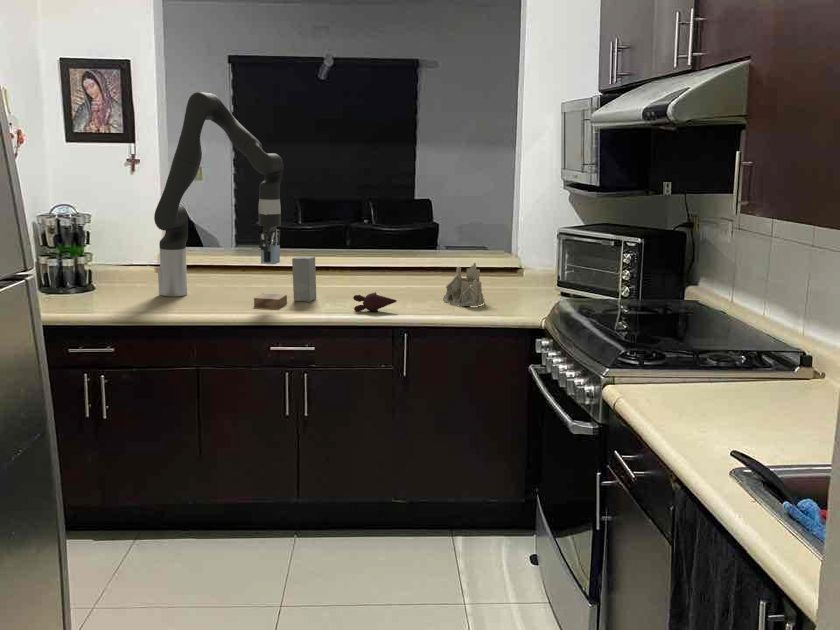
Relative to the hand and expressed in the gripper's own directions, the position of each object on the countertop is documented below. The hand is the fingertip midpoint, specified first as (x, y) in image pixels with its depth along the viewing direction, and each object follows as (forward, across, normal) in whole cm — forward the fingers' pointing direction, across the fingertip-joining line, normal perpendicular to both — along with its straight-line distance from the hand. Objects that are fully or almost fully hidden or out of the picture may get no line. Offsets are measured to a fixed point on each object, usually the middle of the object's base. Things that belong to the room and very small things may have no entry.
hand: (270, 260), depth 304 cm
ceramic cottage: (+16, -27, +64) cm, 72 cm away
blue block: (+1, 0, 0) cm, 1 cm away
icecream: (+16, -2, +38) cm, 41 cm away
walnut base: (+16, 0, 0) cm, 16 cm away
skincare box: (+16, -13, +8) cm, 22 cm away
